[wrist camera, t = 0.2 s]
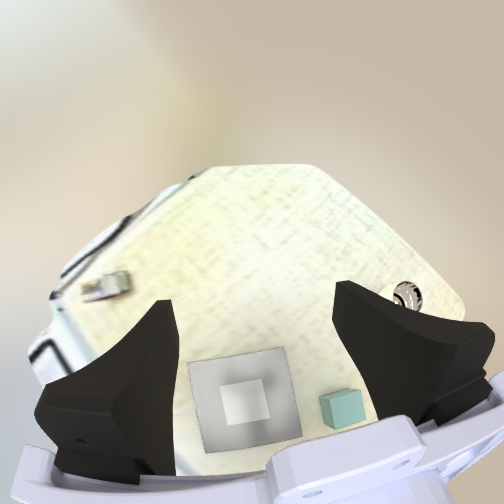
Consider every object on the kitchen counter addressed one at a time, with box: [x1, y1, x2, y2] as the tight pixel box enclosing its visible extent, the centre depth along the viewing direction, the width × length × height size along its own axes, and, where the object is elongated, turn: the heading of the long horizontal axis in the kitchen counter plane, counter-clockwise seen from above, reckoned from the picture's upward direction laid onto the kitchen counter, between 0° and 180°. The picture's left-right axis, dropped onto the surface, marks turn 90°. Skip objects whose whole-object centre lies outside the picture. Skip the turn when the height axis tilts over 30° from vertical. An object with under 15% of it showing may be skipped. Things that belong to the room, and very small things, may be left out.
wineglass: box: [379, 281, 423, 312], centre depth 38 cm, size 6×6×12 cm
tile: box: [187, 347, 302, 453], centre depth 37 cm, size 14×14×1 cm
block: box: [319, 389, 366, 430], centre depth 35 cm, size 4×4×6 cm
